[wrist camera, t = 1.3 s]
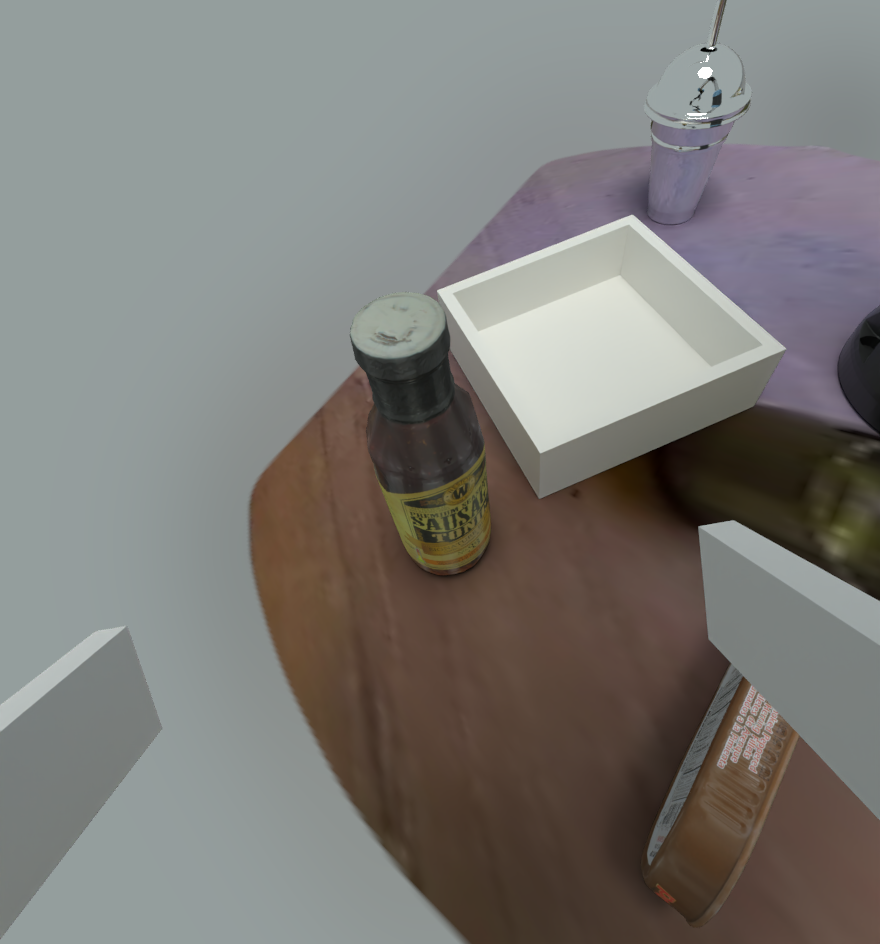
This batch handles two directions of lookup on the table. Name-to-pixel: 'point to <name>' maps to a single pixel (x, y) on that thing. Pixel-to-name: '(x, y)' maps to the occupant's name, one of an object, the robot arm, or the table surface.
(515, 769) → the table surface
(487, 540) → the sauce bottle
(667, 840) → the tin
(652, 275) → the box
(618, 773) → the table surface
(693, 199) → the cup with straw
